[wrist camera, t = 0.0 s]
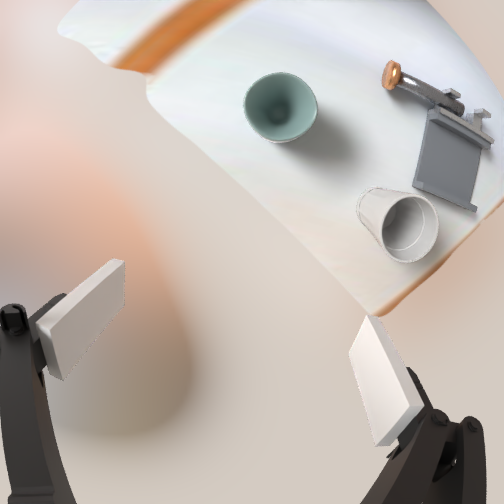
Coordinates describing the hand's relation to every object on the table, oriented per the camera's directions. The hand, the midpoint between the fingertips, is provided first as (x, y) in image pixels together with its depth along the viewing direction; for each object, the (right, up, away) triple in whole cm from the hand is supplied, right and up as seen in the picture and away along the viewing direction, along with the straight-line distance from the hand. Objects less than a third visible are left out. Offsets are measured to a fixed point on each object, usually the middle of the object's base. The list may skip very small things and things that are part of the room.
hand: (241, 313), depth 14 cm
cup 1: (+4, +22, +22) cm, 31 cm away
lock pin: (+25, +26, +17) cm, 40 cm away
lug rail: (+34, +25, +19) cm, 46 cm away
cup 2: (+19, +10, +25) cm, 33 cm away
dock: (+32, +17, +21) cm, 42 cm away
